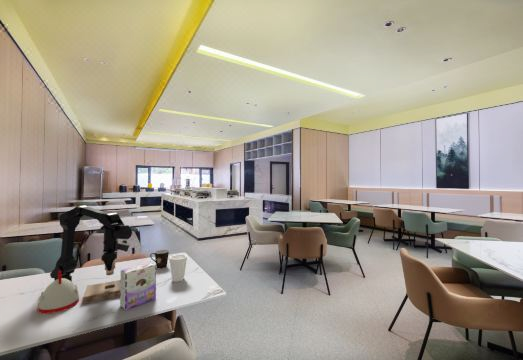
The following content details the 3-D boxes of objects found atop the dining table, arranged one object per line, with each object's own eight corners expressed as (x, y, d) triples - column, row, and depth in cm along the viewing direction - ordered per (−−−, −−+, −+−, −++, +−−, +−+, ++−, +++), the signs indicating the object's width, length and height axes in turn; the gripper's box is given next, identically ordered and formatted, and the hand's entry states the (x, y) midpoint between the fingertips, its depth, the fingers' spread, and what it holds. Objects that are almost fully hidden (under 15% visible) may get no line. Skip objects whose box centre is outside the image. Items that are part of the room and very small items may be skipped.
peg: (115, 274, 119) (115, 258, 119) (104, 276, 117) (104, 260, 117) (115, 271, 123) (115, 256, 123) (104, 273, 121) (105, 257, 121)
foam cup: (165, 282, 133) (165, 258, 133) (175, 275, 142) (175, 253, 142) (180, 283, 130) (181, 260, 131) (189, 277, 139) (189, 255, 140)
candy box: (150, 295, 117) (150, 261, 117) (156, 298, 113) (156, 264, 114) (119, 306, 107) (120, 269, 107) (125, 310, 103) (125, 272, 103)
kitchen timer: (77, 295, 117) (78, 264, 117) (80, 306, 107) (80, 272, 107) (39, 304, 108) (39, 271, 108) (37, 317, 98) (38, 280, 98)
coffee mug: (171, 266, 158) (171, 251, 158) (159, 270, 151) (160, 254, 151) (160, 262, 164) (160, 248, 164) (148, 266, 157) (149, 251, 157)
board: (83, 303, 108) (83, 297, 109) (87, 291, 121) (87, 285, 121) (123, 295, 117) (123, 289, 117) (123, 284, 129) (123, 279, 129)
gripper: (129, 240, 116) (128, 272, 116) (128, 233, 132) (128, 261, 132) (101, 243, 110) (101, 276, 110) (104, 235, 126) (104, 264, 126)
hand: (109, 269), depth 120 cm, fingers closed on peg, 4 cm apart
